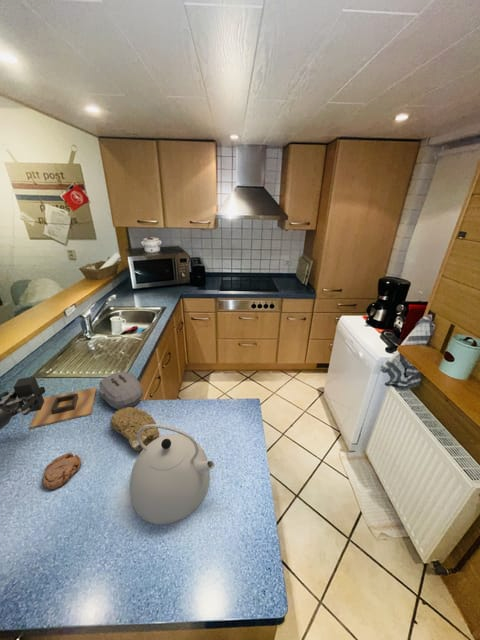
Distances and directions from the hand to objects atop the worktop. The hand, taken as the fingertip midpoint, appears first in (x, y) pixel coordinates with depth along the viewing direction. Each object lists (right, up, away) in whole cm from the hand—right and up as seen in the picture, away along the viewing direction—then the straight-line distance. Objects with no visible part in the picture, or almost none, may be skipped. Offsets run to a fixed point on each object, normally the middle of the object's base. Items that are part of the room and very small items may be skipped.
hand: (35, 387), depth 86 cm
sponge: (+32, -18, +5) cm, 37 cm away
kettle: (+51, -26, -10) cm, 58 cm away
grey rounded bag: (+20, -10, +22) cm, 31 cm away
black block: (0, -7, +1) cm, 7 cm away
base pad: (0, -12, +16) cm, 20 cm away
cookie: (+16, -24, -9) cm, 30 cm away
